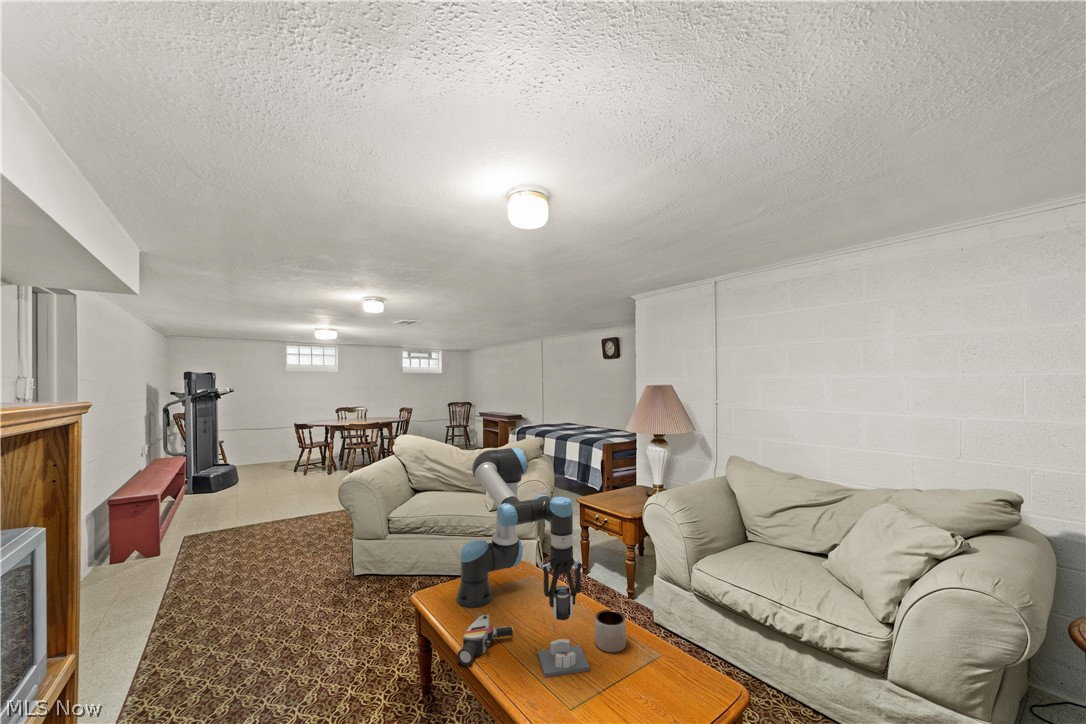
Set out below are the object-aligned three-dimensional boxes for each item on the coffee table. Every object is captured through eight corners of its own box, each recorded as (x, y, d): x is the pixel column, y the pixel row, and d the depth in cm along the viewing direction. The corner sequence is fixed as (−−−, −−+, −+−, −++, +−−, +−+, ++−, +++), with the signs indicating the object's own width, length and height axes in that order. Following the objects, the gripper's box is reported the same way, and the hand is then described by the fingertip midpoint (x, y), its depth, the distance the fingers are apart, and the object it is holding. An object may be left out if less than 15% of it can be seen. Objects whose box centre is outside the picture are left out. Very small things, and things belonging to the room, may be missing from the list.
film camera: (498, 673, 145) (455, 665, 149) (515, 636, 164) (477, 630, 168) (498, 652, 145) (455, 645, 149) (515, 617, 164) (477, 612, 168)
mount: (537, 654, 154) (537, 639, 154) (579, 648, 157) (579, 634, 157) (544, 677, 142) (544, 661, 142) (589, 670, 145) (589, 655, 145)
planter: (629, 639, 162) (628, 613, 162) (621, 657, 152) (621, 628, 152) (600, 632, 166) (600, 606, 167) (591, 649, 156) (590, 621, 157)
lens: (553, 613, 152) (553, 585, 152) (567, 611, 153) (567, 584, 153) (556, 621, 147) (556, 592, 147) (571, 619, 148) (571, 591, 148)
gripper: (537, 551, 145) (538, 624, 144) (590, 546, 149) (591, 617, 148) (533, 543, 152) (534, 612, 152) (584, 538, 156) (584, 606, 155)
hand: (562, 614), depth 150 cm, fingers closed on lens, 5 cm apart
